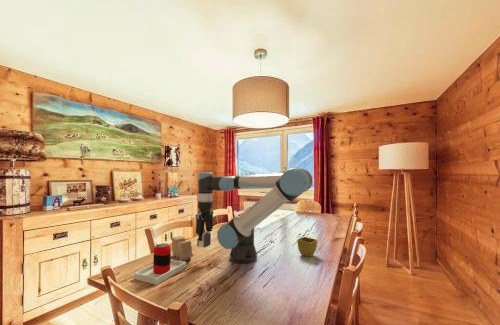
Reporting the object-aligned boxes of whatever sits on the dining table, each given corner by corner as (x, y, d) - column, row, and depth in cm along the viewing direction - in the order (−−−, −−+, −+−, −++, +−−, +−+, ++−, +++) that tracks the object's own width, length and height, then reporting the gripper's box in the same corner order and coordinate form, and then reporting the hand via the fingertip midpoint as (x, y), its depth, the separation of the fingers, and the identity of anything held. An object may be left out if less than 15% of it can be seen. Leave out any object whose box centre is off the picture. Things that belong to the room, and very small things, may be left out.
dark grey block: (210, 244, 122) (210, 233, 122) (205, 247, 117) (205, 235, 118) (202, 243, 124) (202, 232, 124) (197, 246, 119) (197, 234, 119)
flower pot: (318, 255, 131) (317, 239, 131) (310, 259, 124) (310, 243, 125) (304, 251, 137) (304, 236, 137) (296, 255, 130) (296, 239, 131)
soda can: (153, 268, 109) (154, 243, 109) (169, 266, 112) (170, 242, 112) (153, 275, 102) (153, 248, 102) (170, 273, 105) (171, 246, 105)
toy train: (182, 263, 117) (183, 244, 118) (171, 254, 131) (171, 236, 131) (192, 261, 121) (193, 242, 121) (180, 252, 134) (180, 235, 135)
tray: (186, 267, 113) (186, 262, 113) (156, 284, 95) (156, 278, 95) (165, 262, 118) (165, 258, 118) (134, 278, 100) (134, 273, 101)
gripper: (208, 198, 131) (207, 239, 130) (188, 202, 115) (187, 249, 114) (219, 199, 128) (219, 241, 127) (201, 203, 112) (200, 251, 111)
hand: (204, 244), depth 120 cm, fingers closed on dark grey block, 5 cm apart
